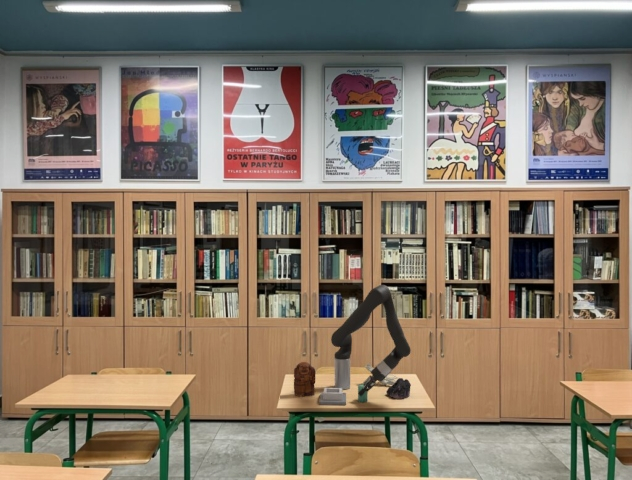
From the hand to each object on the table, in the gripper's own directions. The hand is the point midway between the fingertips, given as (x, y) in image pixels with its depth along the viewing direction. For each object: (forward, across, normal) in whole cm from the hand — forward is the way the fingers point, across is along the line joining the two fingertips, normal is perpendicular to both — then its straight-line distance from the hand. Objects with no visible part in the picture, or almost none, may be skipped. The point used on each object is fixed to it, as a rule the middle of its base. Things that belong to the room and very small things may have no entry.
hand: (359, 393), depth 264 cm
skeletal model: (-8, -34, +15) cm, 38 cm away
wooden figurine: (+24, -10, -18) cm, 32 cm away
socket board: (+13, -1, -7) cm, 15 cm away
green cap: (+2, 0, +4) cm, 5 cm away
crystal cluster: (-12, -11, +19) cm, 25 cm away
